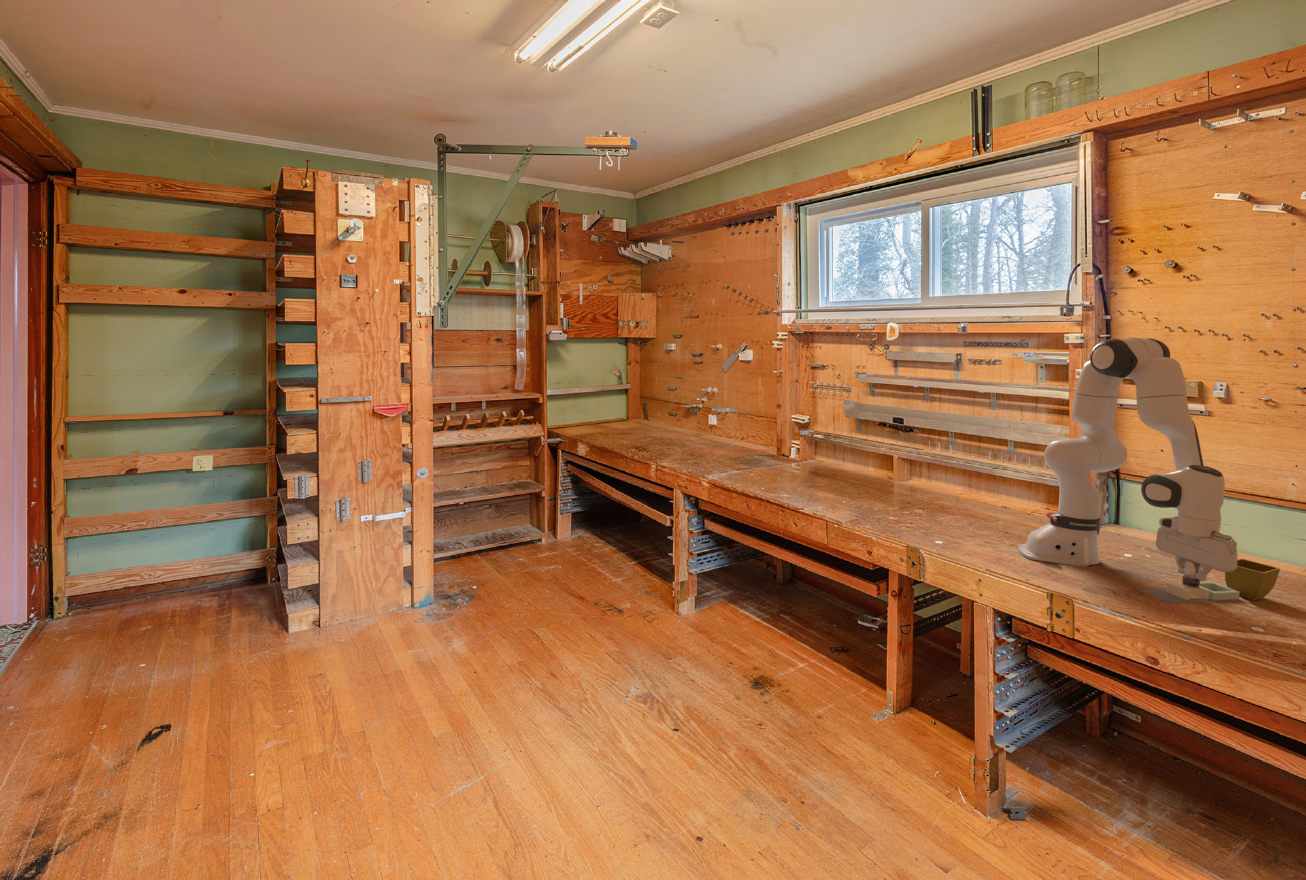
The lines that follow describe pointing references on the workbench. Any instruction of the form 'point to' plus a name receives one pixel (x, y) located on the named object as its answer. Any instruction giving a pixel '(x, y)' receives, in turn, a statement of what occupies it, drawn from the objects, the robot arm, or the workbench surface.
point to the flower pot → (1252, 579)
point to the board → (1174, 599)
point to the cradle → (1188, 592)
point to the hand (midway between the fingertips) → (1191, 576)
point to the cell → (1191, 574)
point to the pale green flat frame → (1220, 591)
